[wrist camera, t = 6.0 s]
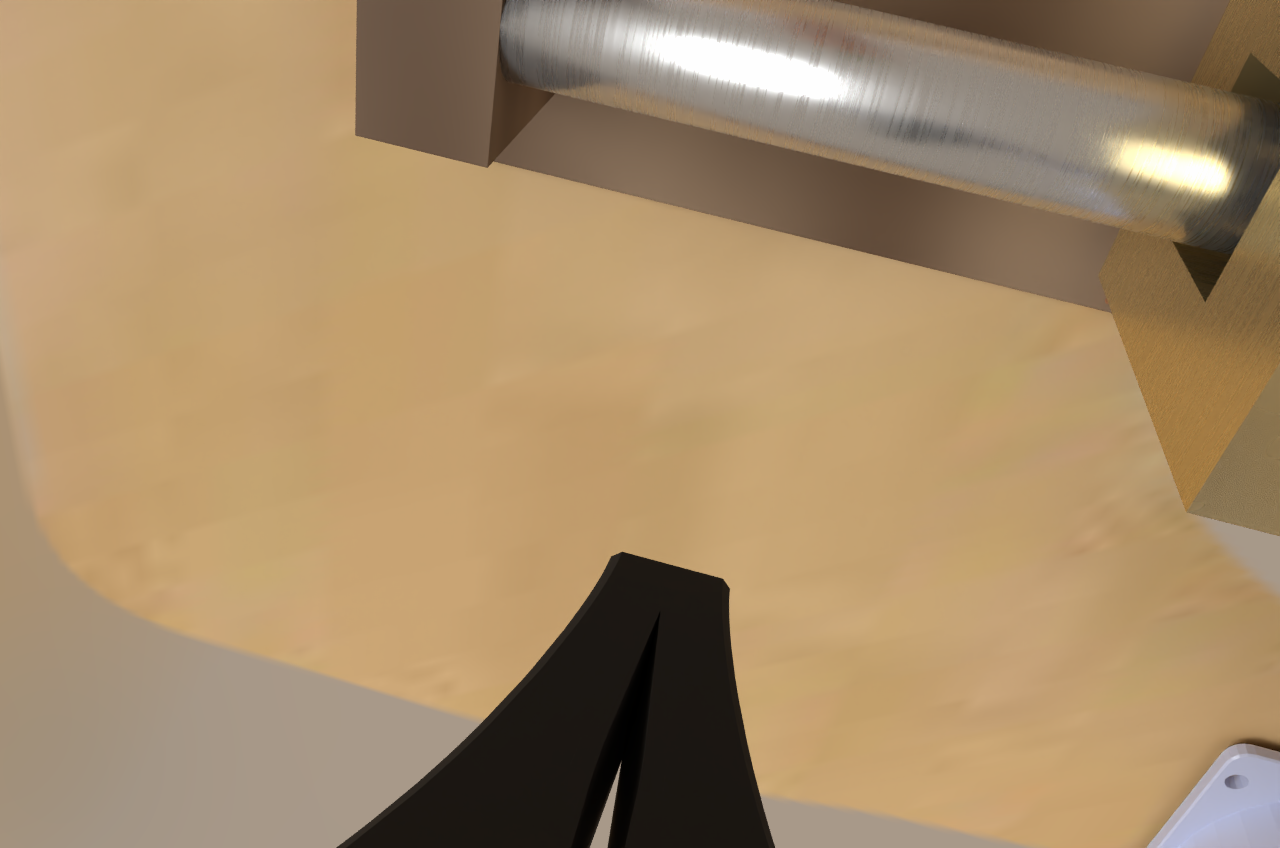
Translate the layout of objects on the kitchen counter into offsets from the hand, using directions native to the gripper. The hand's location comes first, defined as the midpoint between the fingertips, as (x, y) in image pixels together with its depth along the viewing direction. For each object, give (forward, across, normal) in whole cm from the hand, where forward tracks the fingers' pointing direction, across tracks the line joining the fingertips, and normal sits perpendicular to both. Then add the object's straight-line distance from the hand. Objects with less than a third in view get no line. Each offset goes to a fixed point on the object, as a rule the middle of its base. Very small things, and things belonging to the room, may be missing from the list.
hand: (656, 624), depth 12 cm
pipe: (+7, -3, -5) cm, 9 cm away
